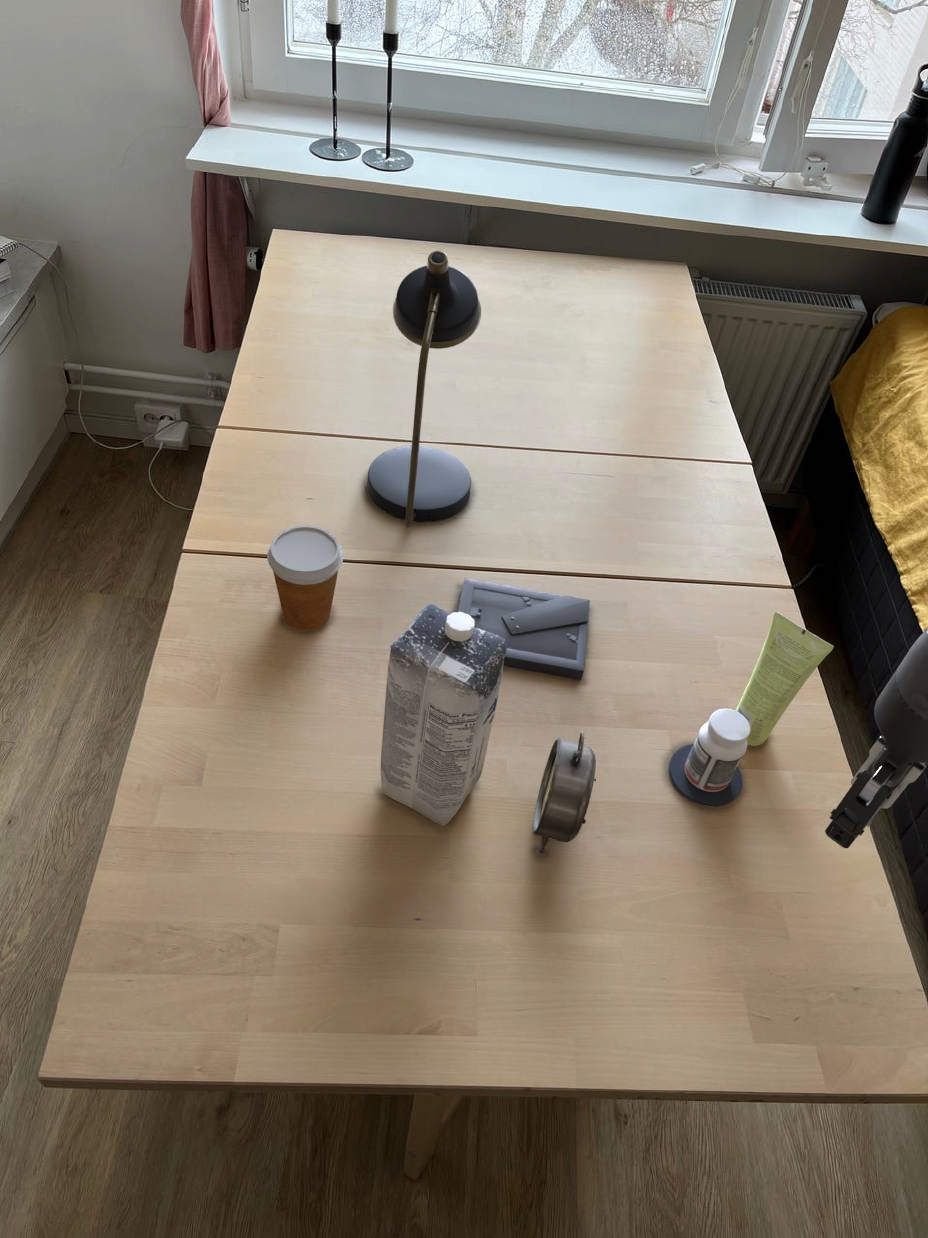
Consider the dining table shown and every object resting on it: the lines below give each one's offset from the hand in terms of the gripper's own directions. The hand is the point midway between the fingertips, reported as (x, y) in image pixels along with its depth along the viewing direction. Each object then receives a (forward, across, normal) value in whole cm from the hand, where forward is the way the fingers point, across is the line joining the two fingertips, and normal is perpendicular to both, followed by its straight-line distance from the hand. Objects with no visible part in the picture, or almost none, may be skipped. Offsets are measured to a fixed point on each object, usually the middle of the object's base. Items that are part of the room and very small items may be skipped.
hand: (861, 810), depth 83 cm
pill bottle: (+28, +15, +17) cm, 36 cm away
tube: (+28, +25, +17) cm, 41 cm away
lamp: (+28, +24, +78) cm, 86 cm away
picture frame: (+28, +15, +48) cm, 58 cm away
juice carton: (+28, -12, +38) cm, 49 cm away
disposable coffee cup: (+28, -5, +69) cm, 75 cm away
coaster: (+28, +15, +17) cm, 36 cm away
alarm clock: (+28, -4, +25) cm, 38 cm away
